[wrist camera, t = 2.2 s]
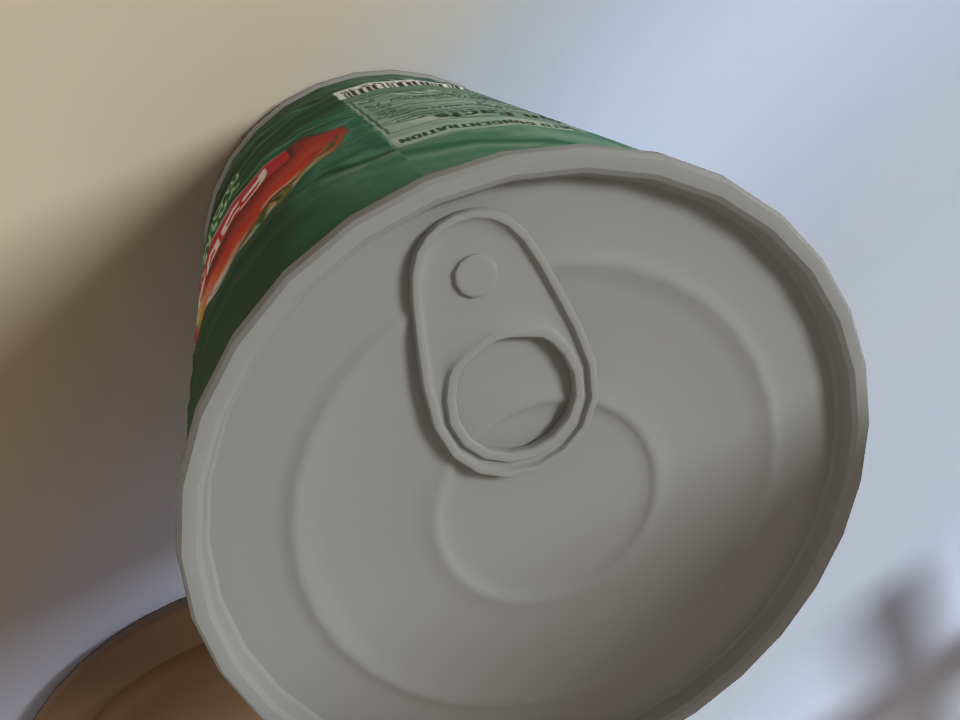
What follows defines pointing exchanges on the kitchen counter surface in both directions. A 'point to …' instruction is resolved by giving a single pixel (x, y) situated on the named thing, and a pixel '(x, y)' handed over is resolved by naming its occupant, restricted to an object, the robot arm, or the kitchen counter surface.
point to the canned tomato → (502, 417)
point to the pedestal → (149, 677)
